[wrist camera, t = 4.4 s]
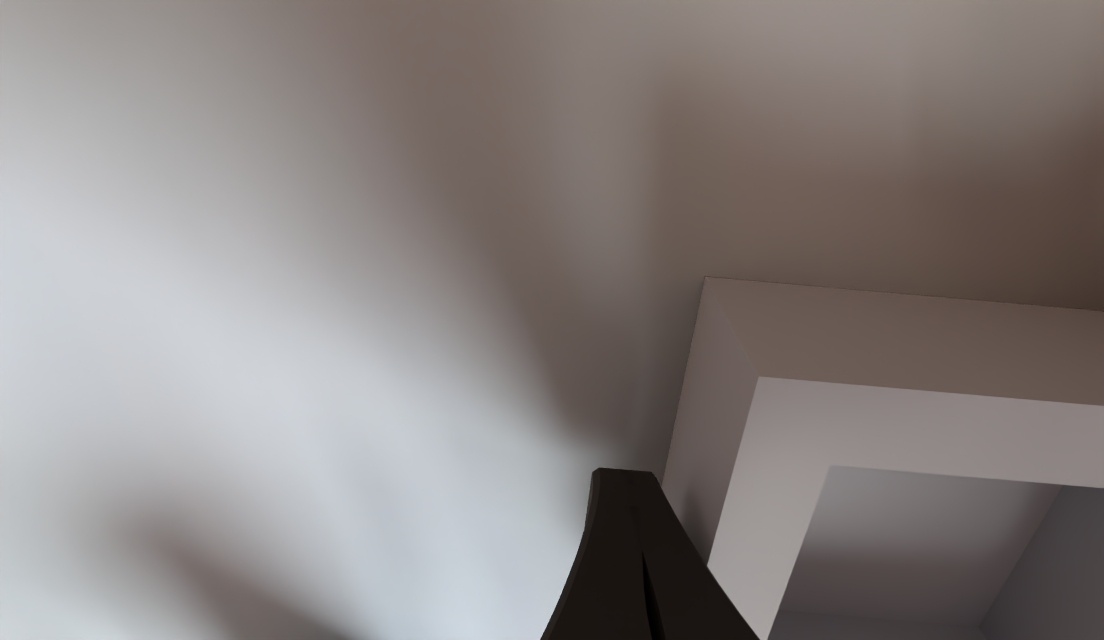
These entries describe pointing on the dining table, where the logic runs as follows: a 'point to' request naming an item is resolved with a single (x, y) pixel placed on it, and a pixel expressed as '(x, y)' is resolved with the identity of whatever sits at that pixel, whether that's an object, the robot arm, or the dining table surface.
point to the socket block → (894, 463)
